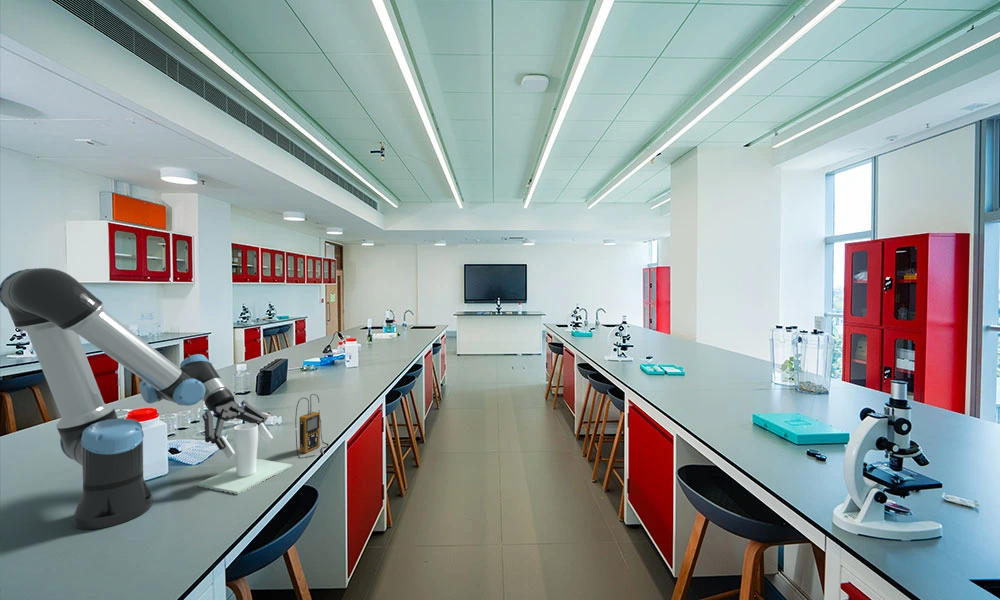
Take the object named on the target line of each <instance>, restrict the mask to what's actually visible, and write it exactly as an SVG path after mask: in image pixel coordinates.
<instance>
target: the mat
mask: <svg viewBox="0 0 1000 600" xmlns="http://www.w3.org/2000/svg"><path fill="white" fill-rule="evenodd" d="M291 467H292V468H293V464H290V463H285V462H280V461H279V462H278V461H274V460H268V459H261V458H257V460H256V472H255V473H254V474H252V475H250V476H246V477H239V476H237V474H236V466H234V467H232V468H230V469H227V470H225V471H223V472H220V473H218V474H216V475H214V476H211V477H209V478H207V479H205V480H202V481H200V482H197V484H196V487H198V486H199V487H200V488H203V487H204V489H208V488H209V490H213V489H214V491H218V490H219V491H218V492H222V491H224V492H223V493H227V492H229V493H228V494H232V493H234V494H233V495H237V494H238V495H240V494H242V493H245V492H246V491H248V490H250V489H252V488H254V487H255V485H256V486H258V485H259V483H260V484H262V483H263V482H262V481H264V482H265V480H266V479H268V478H270V477H272V476H274V475H276V476H278V475H280V474H282V473H283V471H284V470H286V469H288V468H290V469H291ZM288 470H289V469H288ZM286 471H287V470H286ZM281 472H282V473H281ZM284 472H285V471H284ZM279 473H280V474H279ZM277 474H278V475H277ZM274 477H275V476H274ZM272 478H273V477H272ZM270 479H271V478H270ZM268 480H269V479H268ZM266 481H267V480H266ZM261 482H262V483H261ZM257 484H258V485H257ZM253 486H254V487H253ZM251 487H252V488H251ZM247 489H248V490H247ZM241 492H242V493H241ZM239 493H240V494H239Z"/></svg>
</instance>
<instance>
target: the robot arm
mask: <svg viewBox="0 0 1000 600" xmlns="http://www.w3.org/2000/svg"><path fill="white" fill-rule="evenodd" d="M0 303H1V304H2V306H4V307H5V308H6V309H7V310H8V312H9V315H10V317H11V320H12V322H13V324H14V327H15V329H19V330H21V331H23V332H25V333H27V335H28V338H29V340H30V343H31V346H32V348H33V350H34V353H35V355H36V358H37V360H38V362H39V365H40V368H41V370H42V372H43V375H44V377H45V380H46V382H47V384H48V387H49V389H50V392H51V394H52V397H53V399H54V403H55V404H56V407H57V410H58V412H59V414H60V416H61V418H60V419H59V420H58V421H57V423H56V424H55V427H56V429H57V431H58V434H59V436H60V439H59V443H60V449H61V451H62V452H63V453H64V455H65V456H66V457H68V458H69V459H71V460H73V461H75V462H76V463H78V464H79V465H80V466H81V467H82V493H81V496H80V498H79V501H78V503H77V506H76V508H75V511H74V514H73V526H74V528H76V529H81V530H95V529H103V528H109V527H111V526H116V525H119V524H123V523H125V522H128V521H130V520H134V519H135V518H137V517H139V516H141V515H143V514H145V513H147V511H148V510H150V509H151V508H152V506H153V496H152V493H151V491H150V489H149V487H148V486H149V485H148V484H147V483H146V480H145V478H144V436H145V435H144V430H143V426H142V423H141V422H139V421H138V420H136V419H132V418H127V419H126V418H119V417H118V415H117V413H116V412H117V411H116V409H115V407H114V406H113V405H111V404H106V403H105V402H104V399H103V396H102V394H101V390H100V388H99V386H98V383H97V381H96V378H95V376H94V373H93V370H92V367H91V365H90V363H89V360H88V357H87V354H86V351H85V349H84V347H83V344H82V341H81V339H80V337H81V338H83V339H84V340H86V341H87V342H88V343H90V344H91V345H93V346H95V347H96V348H97V349H98V350H100V351H101V352H103V353H104V354H105V355H107V356H108V357H109V358H111V359H112V360H114V361H115V362H117V363H118V364H120V365H121V366H122V367H123V368H125V369H127V370H128V371H130V372H131V373H132V374H134V375H136V377H138V378H139V379H140V380H141V381H140V382H139V385H138V387H139V388H138V389H139V393H140V396H141V397H142V399H143V400H144V401H145V402H146V403H147V404H154V403H156V402H161V401H162V400H165V401H169V402H171V403H174V404H177V405H179V406H185V407H187V406H188V407H189V406H190V407H191V406H194V405H196V404H198V403H199V402H201V401H202V402H204V405H205V407H206V408H207V410H205V411H204V413H203V414H202V416H201V417H202V419H203V421H204V441H205V443H207V444H208V443H210V444H213V445H216V447H217V448H218V449H219V450H220V451H222V452H223V453H224V455H225V457H226V458H227V460H231V458H233V457H234V456H235V451H234V447H232V445H231V444H230V443H229V441H228V440H227V438H226V436H225V435H222V432H223V428H224V425H225V422H228V421H231V420H235V419H236V420H241V421H244V422H247V423H256V424H258V434H260V436H261V437H262V439H263V440H264V441H265V443H266V444H270V442H271V441H272V440H273V439H274V436H273V435H272V434H271V432H270V431H269V430H270V429H269V427H268V426H267V423H266V421H267V420H268V418H269V417H268V416H267V415H265V414H264V413H262V412H261V411H259V410H258V409H257V408H255V407H253V406H252V405H250V404H249V403H248V402H247V400H246V399H243V400H242V401H241V402H240V403H237V402H236V400H235V397H234V395H233V394H232V392H231V390H230V389H229V387H228V386H227V385H226V383H225V382H224V380H223V379H222V377H221V376H220V375H219V373H218V372H217V370H216V369H215V367H214V366H213V364H212V362H211V361H210V360H209V359H208V358H207V356H205V355H204V354H202V353H201V354H199V353H197V354H196V353H195V354H192V355H190V356H189V357H186V358H185V359H183V360H182V361H181V362H180V365H179V367H178V365H176V364H175V363H173V362H172V361H171V360H170V359H168V358H166V356H164V355H163V354H162V353H160V352H159V351H158V350H156V349H155V347H153V346H152V345H150V344H149V343H148V342H147V341H145V340H144V339H143V338H141V337H140V336H139V335H138V334H136V333H135V332H133V331H132V330H131V329H130V328H129V327H127V326H126V325H125V324H123V323H122V322H120V320H118V319H117V318H116V317H114V316H113V315H112V314H111V313H109V312H108V311H107V310H106V309H104V302H103V301H101V300H100V299H99V298H98V297H96V296H95V295H94V294H93V293H92V292H90V291H89V289H87V287H85V286H84V285H83V284H82V283H80V282H79V281H78V280H77V279H76V278H74V277H73V276H72V275H70V274H69V273H66V272H64V271H62V270H59V269H56V268H48V267H46V268H45V267H40V268H25V269H21V270H18V271H15V272H13V273H11V274H9V275H7V277H5V278H4V279H3V280H2V281H1V283H0ZM214 418H216V422H215V428H214Z"/></svg>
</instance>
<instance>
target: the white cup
mask: <svg viewBox="0 0 1000 600" xmlns="http://www.w3.org/2000/svg"><path fill="white" fill-rule="evenodd" d="M232 443H233V450H234V451H235V454H234V461H235V467H236V474H237V476H239V477H246V476H250V475H252V474H254V473H255V472H256V460H257V459H258V458H257V457H258V447H259V432H258V424H256V423H249V422H247V423H242V424H238V425H235V426H234V427H233V429H232Z"/></svg>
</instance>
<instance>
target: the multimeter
mask: <svg viewBox="0 0 1000 600" xmlns="http://www.w3.org/2000/svg"><path fill="white" fill-rule="evenodd" d="M312 396H316V397H317V400H318V402H320V398H319V395H317V394H315V393H312V394H311V395H310V396H309V399H308V398H307V397H301V398H300V399H299V400H298V402H297V404H296V408H295V416H297V413H298V405H299V403H300V401H301V400H303V399H305V400H307V404H308V406H307V407H308V408H307V413H306V414H303V415H301V416H299V420H298V421H299V449H298V440H297V439H298V438H297V437H298V436H297V433H298V432H297V431H295V442H296V443H295V445H296V455H297V457H298V458H299V457H300V455H299V453H302V452H303V453H304V454H308V453H309V452H311V451H314V450H315V449H318V448H320V446H321V442H322V443H323V444H326V446H323V447H321V448H320V450H321V453H322V455H325V454H324V453H325V452H324V450H323V449H324V448H327V447H328V446H329V443H327V442H324V440H323V438H322V437H323V435H322V434H321V428H322V420H321V413H320V411H312ZM295 427H297V418H295ZM320 438H321V439H320ZM320 440H321V441H320ZM298 450H299V451H298ZM318 455H319V453H317V454H309V455H306V456H305V458H311V457H315V456H318ZM303 457H304V456H303ZM303 457H302V458H301V459H304V458H303Z"/></svg>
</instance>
